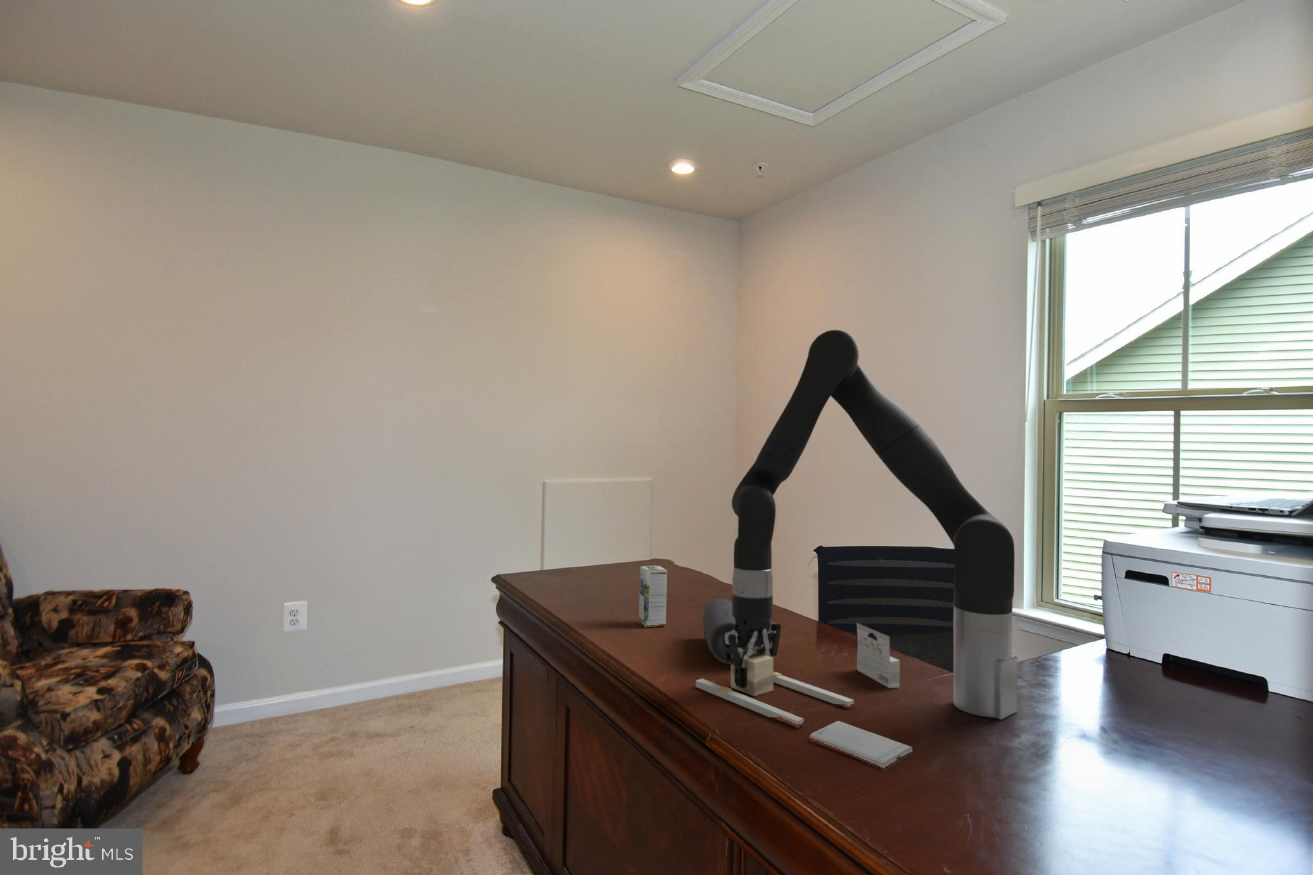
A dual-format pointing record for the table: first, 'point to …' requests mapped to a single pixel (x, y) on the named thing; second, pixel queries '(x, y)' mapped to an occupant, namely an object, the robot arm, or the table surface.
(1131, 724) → the table surface
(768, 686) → the block
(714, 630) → the bluetooth speaker
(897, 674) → the ink cartridge box
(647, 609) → the syrup box
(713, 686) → the slot rails
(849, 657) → the table surface
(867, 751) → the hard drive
